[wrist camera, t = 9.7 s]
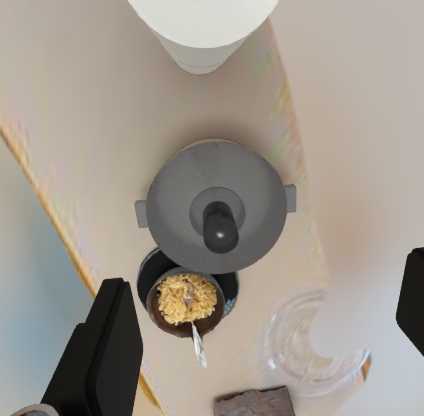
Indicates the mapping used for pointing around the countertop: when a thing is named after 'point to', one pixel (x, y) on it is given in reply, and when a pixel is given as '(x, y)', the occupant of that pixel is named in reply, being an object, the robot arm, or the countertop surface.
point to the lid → (216, 207)
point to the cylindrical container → (202, 28)
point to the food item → (257, 404)
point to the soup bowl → (185, 298)
